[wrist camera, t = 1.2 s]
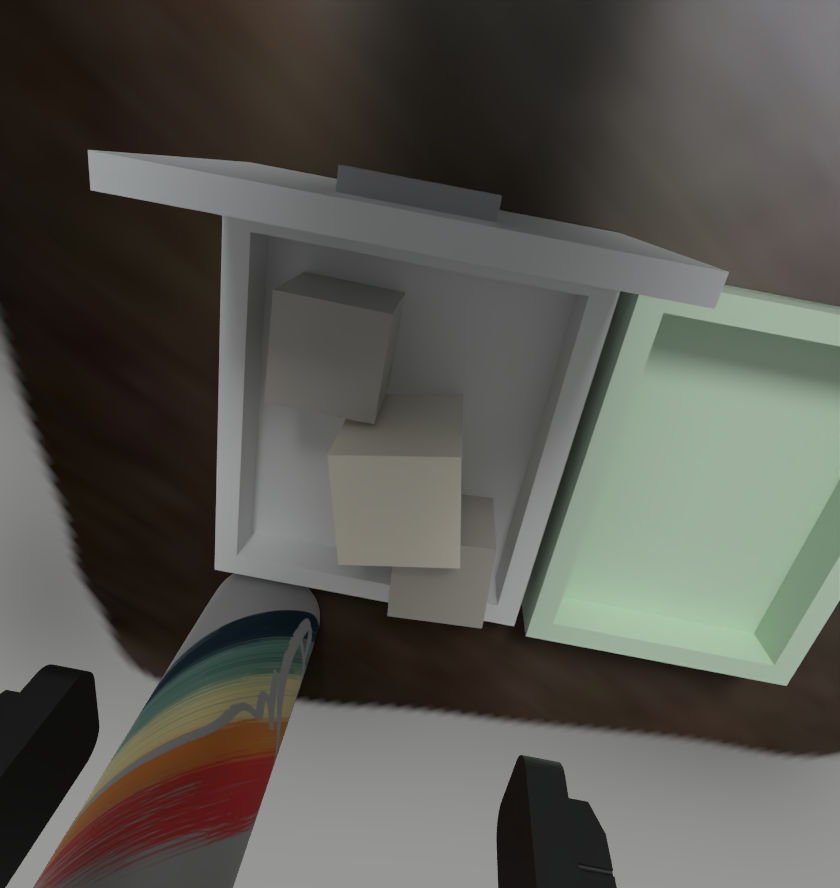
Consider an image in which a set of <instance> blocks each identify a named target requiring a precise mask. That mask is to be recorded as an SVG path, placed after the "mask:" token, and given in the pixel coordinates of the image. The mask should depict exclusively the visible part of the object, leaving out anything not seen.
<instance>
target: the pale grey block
mask: <svg viewBox="0 0 840 888" xmlns="http://www.w3.org/2000/svg"><path fill="white" fill-rule="evenodd" d="M496 551H497V548H496V534H495V520H494V506H493V498H487V497H479V496H471V495H463V494H462V515H461V556H460V569H457V568H425V567H394V566H392V571H391V582H390V592H389V603H388V614H387V616H390V617H398V618H405V619H413V620H421V621H428V622H436V623H443V624H451V625H459V626H466V627H474V628H481V629H482V626H483V620H484V615H485V610H486V604H487V599H488V594H489V588H490V583H491V578H492V572H493V567H494V562H495V556H496Z"/></svg>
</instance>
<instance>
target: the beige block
mask: <svg viewBox="0 0 840 888" xmlns="http://www.w3.org/2000/svg"><path fill="white" fill-rule="evenodd" d="M327 456H328V466H329V476H330V487H331V497H332V507H333V518H334V528H335V538H336V548H337V559H338V565H362V566H394V567H425V568H457V569H460V556H461V515H462V462H463V394H386V395H385V398H384V401H383V403H382V406H381V408H380V411H379V413H378V416H377V419H376V421H375V424H370V423H365V422H360V421H355V420H350V419H346V420H345V422H344V424H343V426H342V428H341V430H340V432H339V434H338V436H337V437H336V439H335V441H334V443H333V445H332V447H331V449H330V451H329V453H328V455H327Z"/></svg>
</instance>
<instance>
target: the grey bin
mask: <svg viewBox="0 0 840 888" xmlns="http://www.w3.org/2000/svg"><path fill="white" fill-rule="evenodd" d="M303 272H309V273H314V274H318V275H323V276H328V277H333V278H338V279H342V280H347V281H352V282H357V283H362V284H366V285H371V286H376V287H381V288H385V289H390V290H395V291H400V292H405V297H404V303H403V308H402V314H401V320H400V325H399V331H398V337H397V342H396V348H395V354H394V360H393V365H392V371H391V377H390V382H389V388H388V390H387V393H386V394H463V462H462V494H463V495H471V496H479V497H487V498H493V506H494V520H495V534H496V548H497V551H496V556H495V562H494V567H493V572H492V578H491V583H490V588H489V594H488V599H487V604H486V610H485V615H484V620H483V621H488V622H493V623H499V624H504V625H509V626H514V625H515V622H516V619H517V615H518V612H519V609H520V606H521V603H522V600H523V597H524V593H525V590H526V587H527V584H528V581H529V578H530V575H531V571H532V568H533V565H534V562H535V559H536V556H537V552H538V549H539V546H540V543H541V540H542V537H543V534H544V530H545V527H546V524H547V521H548V518H549V515H550V511H551V508H552V505H553V502H554V499H555V496H556V493H557V489H558V486H559V483H560V480H561V477H562V474H563V471H564V467H565V464H566V461H567V458H568V455H569V452H570V448H571V445H572V442H573V439H574V436H575V433H576V430H577V426H578V423H579V420H580V417H581V414H582V411H583V408H584V404H585V401H586V398H587V395H588V392H589V389H590V385H591V382H592V379H593V376H594V373H595V370H596V367H597V363H598V360H599V357H600V354H601V351H602V348H603V344H604V341H605V338H606V335H607V332H608V329H609V326H610V322H611V319H612V316H613V313H614V310H615V307H616V304H617V300H618V297H619V294H620V291H617V290H612V289H607V288H602V287H596V286H591V285H586V284H581V283H575V282H570V281H565V280H560V279H554V278H549V277H544V276H539V275H533V274H528V273H523V272H518V271H512V270H507V269H502V268H497V267H491V266H486V265H481V264H476V263H470V262H465V261H460V260H455V259H449V258H444V257H439V256H434V255H428V254H423V253H418V252H413V251H407V250H402V249H397V248H392V247H387V246H381V245H376V244H371V243H366V242H360V241H355V240H350V239H345V238H339V237H334V236H329V235H324V234H318V233H313V232H308V231H303V230H297V229H292V228H287V227H282V226H276V225H271V224H266V223H261V222H255V221H250V220H245V219H240V218H234V217H229V216H224V215H222V259H221V304H220V350H219V395H218V441H217V486H216V531H215V570H220V571H225V572H230V573H235V574H241V575H246V576H251V577H256V578H262V579H267V580H272V581H278V582H283V583H288V584H293V585H299V586H304V587H309V588H314V589H320V590H325V591H330V592H335V593H341V594H346V595H351V596H356V597H362V598H367V599H372V600H378V601H383V602H388V603H389V592H390V582H391V571H392V566H362V565H338V559H337V548H336V538H335V528H334V518H333V507H332V497H331V487H330V476H329V466H328V456H327V455H328V453H329V451H330V449H331V447H332V445H333V443H334V441H335V439H336V437H337V436H338V434H339V432H340V430H341V428H342V426H343V424H344V422H345V420H346V419H345V418H340V417H336V416H331V415H326V414H321V413H316V412H311V411H307V410H302V409H297V408H292V407H287V406H282V405H278V404H273V403H268V402H264V398H265V385H266V373H267V360H268V347H269V334H270V321H271V308H272V295H273V289H275V288H277V287H278V286H280V285H282V284H284V283H285V282H287V281H289V280H291V279H293V278H294V277H296V276H298V275H300V274H302V273H303Z"/></svg>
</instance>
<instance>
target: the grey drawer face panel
mask: <svg viewBox="0 0 840 888" xmlns="http://www.w3.org/2000/svg"><path fill="white" fill-rule="evenodd" d="M88 160H89V174H90V189H91V190H93V191H98V192H103V193H109V194H114V195H119V196H124V197H129V198H135V199H140V200H145V201H150V202H156V203H161V204H166V205H171V206H177V207H182V208H187V209H192V210H198V211H203V212H208V213H213V214H219V215H224V216H229V217H234V218H240V219H245V220H250V221H255V222H261V223H266V224H271V225H276V226H282V227H287V228H292V229H297V230H303V231H308V232H313V233H318V234H324V235H329V236H334V237H339V238H345V239H350V240H355V241H360V242H366V243H371V244H376V245H381V246H387V247H392V248H397V249H402V250H407V251H413V252H418V253H423V254H428V255H434V256H439V257H444V258H449V259H455V260H460V261H465V262H470V263H476V264H481V265H486V266H491V267H497V268H502V269H507V270H512V271H518V272H523V273H528V274H533V275H539V276H544V277H549V278H554V279H560V280H565V281H570V282H575V283H581V284H586V285H591V286H596V287H602V288H607V289H612V290H617V291H623V292H628V293H633V294H638V295H644V296H649V297H654V298H659V299H664V300H670V301H675V302H680V303H685V304H691V305H696V306H701V307H706V308H712V309H715V307H716V304H717V302H718V299H719V297H720V294H721V292H722V289H723V286H724V284H725V281H726V279H727V276H728V274H729V272H727V271H724V270H722V269H719V268H716V267H713V266H710V265H708V264H705V263H702V262H699V261H696V260H694V259H691V258H688V257H685V256H683V255H680V254H677V253H674V252H671V251H669V250H666V249H663V248H660V247H657V246H655V245H652V244H649V243H646V242H643V241H641V240H638V239H635V238H632V237H630V236H627V235H624V234H621V233H618V232H612V231H607V230H602V229H597V228H591V227H586V226H581V225H576V224H570V223H565V222H560V221H555V220H549V219H544V218H539V217H534V216H529V215H523V214H518V213H513V212H508V211H502V210H499V209H500V204H501V199H502V196H501V195H498V194H492V193H487V192H482V191H477V190H471V189H466V188H461V187H456V186H450V185H445V184H440V183H435V182H429V181H424V180H419V179H414V178H408V177H403V176H398V175H393V174H387V173H382V172H377V171H372V170H367V169H361V168H356V167H351V166H344V165H338V174H337V179H335V178H329V177H324V176H319V175H314V174H308V173H303V172H298V171H293V170H287V169H282V168H277V167H272V166H266V165H261V164H256V163H251V162H239V161H226V160H213V159H200V158H187V157H174V156H161V155H148V154H135V153H122V152H109V151H96V150H88Z"/></svg>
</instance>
